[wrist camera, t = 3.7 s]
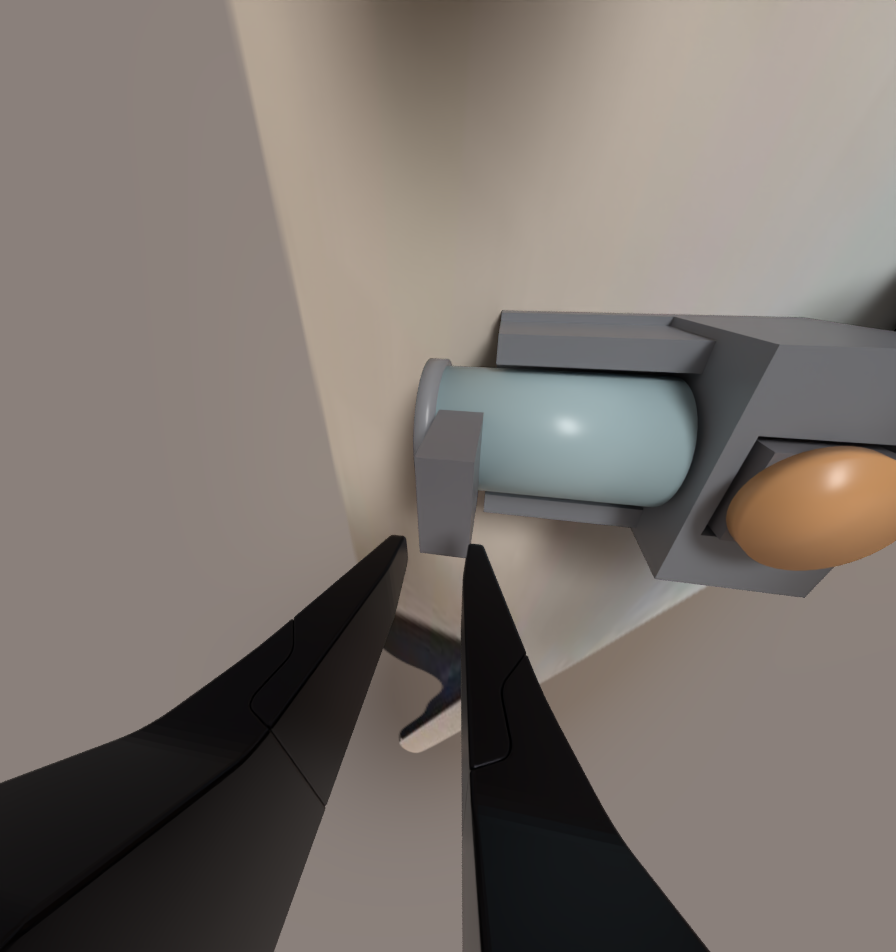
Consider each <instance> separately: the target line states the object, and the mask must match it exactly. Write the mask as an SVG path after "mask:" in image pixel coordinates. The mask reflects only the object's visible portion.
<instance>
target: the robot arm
mask: <svg viewBox="0 0 896 952" xmlns="http://www.w3.org/2000/svg"><path fill="white" fill-rule="evenodd" d="M894 331H895V332H896V329H895V330H894ZM407 561H408V553H407V542H406V538H405V537H404V536H399V535H391V536H389V537H388V538H387V539H386V540H385V541H384V542H382V543H381V544H380V545H379V546H378V547H376V548H375V549H374V550H373V551H372V552H371V553H369V554H368V555H367V556H366V557H365V558H363V559H362V560H361V561H360V562H359V563H358V564H356V565H355V566H354V567H353V568H352V569H350V570H349V571H348V572H347V573H346V574H345V575H343V576H342V577H341V578H340V579H339V580H337V581H336V582H335V583H334V584H333V585H332V586H330V587H329V588H328V589H327V590H326V591H324V592H323V593H322V594H321V595H320V596H319V597H317V598H316V599H315V600H314V601H313V602H311V603H310V604H309V605H308V606H307V607H306V608H304V609H303V610H302V611H301V612H300V613H298V614H297V615H296V616H295V617H294V620H293V619H292V620H290V621H289V622H288V623H287V624H285V625H284V626H283V627H282V628H281V629H279V630H278V631H277V632H276V633H274V634H273V635H272V636H271V637H270V638H268V639H267V640H266V641H265V642H264V643H262V644H261V645H260V646H259V647H257V648H256V649H255V650H253V651H252V652H251V653H249V654H248V655H247V656H245V657H244V658H243V659H241V660H240V661H239V662H237V663H236V664H235V665H233V666H232V667H230V668H229V669H228V670H226V671H225V672H224V673H222V674H221V675H219V676H218V677H217V678H215V679H214V680H212V681H211V682H210V683H208V684H207V685H206V686H204V687H203V688H201V689H200V690H199V691H197V692H196V693H194V694H193V695H192V696H190V697H189V698H187V699H186V700H185V701H183V702H182V703H181V704H179V705H178V706H177V707H175V708H174V709H172V710H171V711H169V712H168V713H166V714H165V715H163V716H162V717H160V718H159V719H157V720H155V721H154V722H152V723H151V724H148V725H147V726H145V727H143V728H141V729H139V730H137V731H135V732H133V733H131V734H129V735H127V736H124V737H122V738H119V739H117V740H114V741H111V742H109V743H106V744H103V745H101V746H98V747H95V748H93V749H90V750H87V751H85V752H82V753H79V754H77V755H74V756H71V757H69V758H66V759H64V760H61V761H58V762H55V763H53V764H50V765H47V766H45V767H42V768H39V769H37V770H34V771H31V772H29V773H26V774H23V775H21V776H18V777H15V778H12V779H10V780H7V781H4V782H2V783H0V952H274V949H275V947H276V944H277V941H278V939H279V936H280V933H281V930H282V928H283V925H284V922H285V919H286V916H287V914H288V911H289V908H290V905H291V902H292V900H293V897H294V894H295V891H296V889H297V886H298V883H299V880H300V877H301V875H302V872H303V869H304V866H305V864H306V861H307V858H308V855H309V852H310V850H311V847H312V844H313V841H314V839H315V836H316V833H317V830H318V827H319V825H320V822H321V819H322V816H323V814H324V811H325V805H326V804H327V802H328V799H329V797H330V794H331V791H332V788H333V785H334V782H335V780H336V777H337V774H338V771H339V769H340V766H341V763H342V760H343V757H344V755H345V752H346V749H347V747H348V744H349V741H350V738H351V736H352V733H353V730H354V727H355V724H356V721H357V719H358V716H359V713H360V711H361V708H362V705H363V702H364V699H365V697H366V694H367V691H368V688H369V686H370V683H371V680H372V677H373V674H374V672H375V669H376V666H377V663H378V661H379V658H380V655H381V652H382V649H383V647H384V644H385V641H386V638H387V636H388V633H389V630H390V627H391V624H392V622H393V619H394V616H395V612H396V608H397V605H398V600H399V596H400V592H401V588H402V583H403V579H404V575H405V571H406V567H407ZM461 738H462V739H461V740H462V910H463V911H462V918H463V919H462V921H463V923H462V925H463V928H462V929H463V952H710V951H709V950H708V948H707V947H706V946H705V944H704V943H703V942H702V941H701V939H700V938H699V937H698V936H697V934H696V933H695V932H694V930H693V929H692V928H691V927H690V926H689V924H688V923H687V922H686V920H685V919H684V918H683V917H682V915H681V914H680V913H679V911H678V910H677V909H676V908H675V906H674V905H673V904H672V903H671V901H670V900H669V899H668V898H667V896H666V895H665V894H664V892H663V891H662V890H661V889H660V887H659V886H658V885H657V883H656V882H655V881H654V880H653V878H652V877H651V876H650V875H649V873H648V872H647V871H646V869H645V868H644V867H643V866H642V865H641V863H640V862H639V861H638V859H637V858H636V857H635V856H634V854H633V853H632V852H631V850H630V849H629V848H628V846H627V845H626V843H625V842H624V840H623V839H622V837H621V836H620V834H619V833H618V831H617V830H616V828H615V827H614V825H613V823H612V822H611V820H610V818H609V817H608V815H607V813H606V812H605V810H604V808H603V806H602V805H601V803H600V801H599V799H598V797H597V796H596V794H595V792H594V790H593V788H592V786H591V784H590V782H589V781H588V779H587V777H586V775H585V773H584V771H583V769H582V767H581V766H580V764H579V762H578V760H577V758H576V756H575V754H574V752H573V750H572V749H571V747H570V745H569V743H568V741H567V739H566V737H565V736H564V733H563V732H562V730H561V728H560V726H559V724H558V722H557V720H556V718H555V716H554V714H553V712H552V710H551V708H550V706H549V704H548V702H547V700H546V698H545V696H544V694H543V691H542V689H541V687H540V684H539V682H538V680H537V678H536V675H535V673H534V671H533V668H532V666H531V663H530V661H529V658H528V656H526V651H525V649H524V646H523V644H522V641H521V639H520V636H519V634H518V631H517V629H516V626H515V624H514V621H513V619H512V616H511V614H510V611H509V609H508V606H507V604H506V601H505V599H504V596H503V594H502V591H501V589H500V586H499V584H498V581H497V579H496V576H495V574H494V571H493V569H492V566H491V564H490V561H489V559H488V556H487V554H486V551H485V549H484V547H483V546H482V545H479V544H469V545H468V549H467V555H466V561H465V567H464V573H463V587H462V613H461Z"/></svg>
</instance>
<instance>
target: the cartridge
mask: <svg viewBox="0 0 896 952" xmlns="http://www.w3.org/2000/svg"><path fill="white" fill-rule="evenodd" d="M697 431H698V416H697V407H696V402H695V398H694V395H693V393H692V391H691V389H690V387H689V385H688V384H687V383H686V382H685V381H684V380H683V379H681V378H679V377H675V376H658V375H637V374H615V373H594V372H573V371H552V370H530V369H509V368H488V367H467V366H452V364H451V361H450V360H449V359H438V358H430V359H429V360H428V361H427V362H426V364H425V366H424V369H423V371H422V375H421V378H420V383H419V387H418V393H417V399H416V407H415V417H414V436H413V450H414V466H415V476H416V494H417V511H418V529H419V546H420V552H421V553H429V554H436V555H444V556H452V557H460V558H466V555H467V549H468V545H469V544H471V539H472V532H473V525H474V518H475V511H476V504H477V497H478V490H481V491H491V492H501V493H511V494H522V495H532V496H542V497H552V498H562V499H572V500H583V501H593V502H603V503H613V504H623V505H633V506H644V507H658V506H661V505H663V504H665V503H666V502H667V501H669V500H670V499H671V498H672V497H673V496H674V495H675V493H676V492H677V491H678V489H679V488H680V486H681V485H682V483H683V481H684V479H685V477H686V475H687V473H688V471H689V468H690V465H691V462H692V459H693V455H694V451H695V446H696V440H697Z"/></svg>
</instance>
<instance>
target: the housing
mask: <svg viewBox="0 0 896 952" xmlns="http://www.w3.org/2000/svg"><path fill="white" fill-rule="evenodd" d="M496 364H497V368H509V369H530V370H552V371H573V372H594V373H615V374H637V375H658V376H675V377H679V378H681V379H683V380H684V381H685V382H686V383H687V384H688V385H689V387H690V389H691V391H692V393H693V395H694V398H695V402H696V407H697V416H698V431H697V440H696V446H695V451H694V455H693V459H692V462H691V465H690V468H689V471H688V473H687V475H686V477H685V479H684V481H683V483H682V485H681V486H680V488H679V489H678V491H677V492H676V493H675V495H674V496H673V497H672V498H671V499H670V500H669V501H667V502H666V503H665V504H663V505H661V506H658V507H644V506H633V505H623V504H613V503H603V502H593V501H583V500H572V499H562V498H552V497H542V496H532V495H522V494H511V493H501V492H491V491H485V501H484V512H490V513H499V514H508V515H518V516H527V517H536V518H546V519H555V520H564V521H574V522H583V523H592V524H602V525H611V526H620V527H630V528H631V530H632V532H633V534H634V536H635V538H636V540H637V543H638V545H639V547H640V549H641V551H642V553H643V555H644V557H645V559H646V561H647V564H648V566H649V568H650V570H651V572H652V574H653V576H654V578H655V579H660V580H668V581H676V582H684V583H692V584H700V585H708V586H716V587H724V588H732V589H739V590H747V591H756V592H763V593H771V594H779V595H787V596H795V597H803V598H805V597H806V596H807V595H808V594H809V592H810V591H811V590H812V589H813V588H814V587H815V586H816V585H817V584H818V583H819V582H820V581H821V580H822V579H823V578H824V577H825V576H826V575H827V574H828V573H829V572H830V570H831V569H833V568H834V567H830V568H825V569H818V570H806V571H792V570H782V569H776V568H772V567H768V566H765V565H763V564H760V563H758V562H757V561H755V560H753V559H752V558H751V557H749V556H748V555H747V554H746V553H745V551H744V550H743V549H742V548H741V547H740V546H739V544H738V543H737V542H733V541H724V540H719V538H718V537H717V536H716V535H715V533H714V532H713V531H712V530H711V528H710V527H709V526H708V522H709V520H710V518H711V517H712V515H713V513H714V512H715V510H716V508H717V506H718V505H719V503H720V501H721V500H722V498H723V496H724V495H725V493H726V491H727V489H728V488H729V486H730V484H731V483H732V481H733V479H734V477H735V476H736V474H737V472H738V471H739V469H740V467H741V465H742V464H743V462H744V460H745V459H746V457H747V455H748V454H749V452H750V450H751V448H752V447H753V445H754V443H755V442H756V440H757V438H758V436H765V437H780V438H795V439H810V440H824V441H839V442H854V443H868V444H877V445H879V446H881V447H883V448H885V449H887V450H889V451H892V452H894V453H896V332H895V331H889V330H882V329H876V328H869V327H862V326H856V325H849V324H843V323H836V322H830V321H823V320H816V319H810V318H803V317H761V316H718V315H675V314H632V313H590V312H547V311H504V310H502V316H501V324H500V330H499V337H498V349H497V360H496Z"/></svg>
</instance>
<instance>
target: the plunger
mask: <svg viewBox="0 0 896 952" xmlns="http://www.w3.org/2000/svg"><path fill="white" fill-rule="evenodd" d="M708 526H709V527H710V528H711V530H712V531H713V532H714V533H715V535H716V536H717V537H718V538H719V540H724V541H733V542H737V543H738V544H739V546H740V547H741V548H742V549H743V550H744V551H745V553H746V554H747V555H748V556H749V557H751V558H752V559H753V560H755V561H757V562H758V563H760V564H763V565H765V566H768V567H772V568H776V569H782V570H792V571H806V570H818V569H825V568H830V567H835V566H839V565H843V564H847V563H850V562H853V561H856V560H859V559H861V558H864V557H866V556H869V555H871V554H873V553H875V552H877V551H879V550H881V549H883V548H885V547H886V546H888V545H890V544H892V543H893V542H894V541H896V453H894V452H892V451H889V450H887V449H885V448H883V447H881V446H879V445H877V444H868V443H854V442H839V441H824V440H810V439H795V438H780V437H765V436H758V438H757V440H756V442H755V443H754V445H753V447H752V448H751V450H750V452H749V454H748V455H747V457H746V459H745V460H744V462H743V464H742V465H741V467H740V469H739V471H738V472H737V474H736V476H735V477H734V479H733V481H732V483H731V484H730V486H729V488H728V489H727V491H726V493H725V495H724V496H723V498H722V500H721V501H720V503H719V505H718V506H717V508H716V510H715V512H714V513H713V515H712V517H711V518H710V520H709V522H708Z"/></svg>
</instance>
